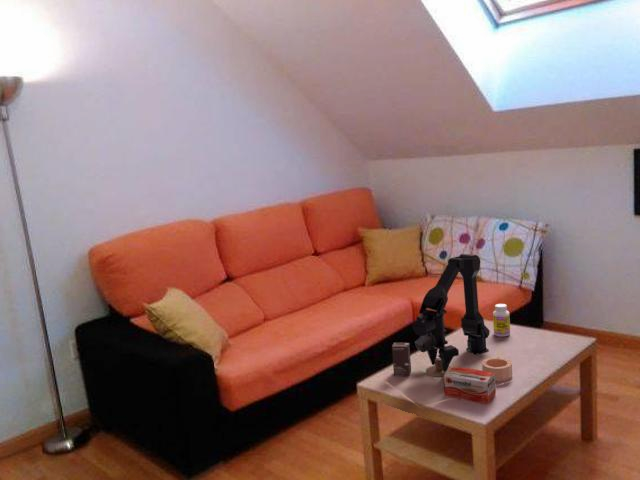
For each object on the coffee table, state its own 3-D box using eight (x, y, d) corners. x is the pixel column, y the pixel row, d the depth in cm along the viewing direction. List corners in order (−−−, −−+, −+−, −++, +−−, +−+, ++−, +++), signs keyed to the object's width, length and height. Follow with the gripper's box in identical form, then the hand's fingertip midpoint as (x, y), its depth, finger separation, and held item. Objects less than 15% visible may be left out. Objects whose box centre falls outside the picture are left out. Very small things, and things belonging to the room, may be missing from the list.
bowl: (499, 368, 215) (499, 355, 215) (518, 377, 206) (517, 364, 205) (476, 374, 212) (476, 361, 211) (494, 384, 203) (493, 370, 202)
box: (393, 377, 217) (391, 346, 215) (396, 372, 222) (393, 341, 219) (410, 377, 215) (407, 346, 213) (412, 372, 220) (409, 342, 218)
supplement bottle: (494, 337, 247) (493, 308, 244) (493, 332, 253) (491, 303, 251) (511, 336, 245) (510, 307, 243) (509, 331, 252) (507, 302, 250)
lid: (443, 364, 223) (442, 352, 222) (457, 373, 214) (457, 360, 213) (421, 370, 220) (420, 358, 219) (435, 379, 211) (434, 366, 210)
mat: (443, 365, 223) (443, 364, 223) (458, 374, 214) (458, 373, 214) (420, 371, 220) (420, 370, 220) (435, 380, 211) (435, 379, 211)
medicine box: (444, 397, 198) (442, 374, 196) (453, 387, 204) (452, 365, 203) (488, 405, 189) (487, 381, 188) (496, 394, 196) (495, 372, 194)
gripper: (404, 325, 220) (407, 364, 223) (430, 339, 203) (433, 382, 205) (430, 319, 224) (432, 358, 226) (458, 332, 206) (461, 374, 209)
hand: (439, 368), depth 217 cm, fingers open, 7 cm apart
